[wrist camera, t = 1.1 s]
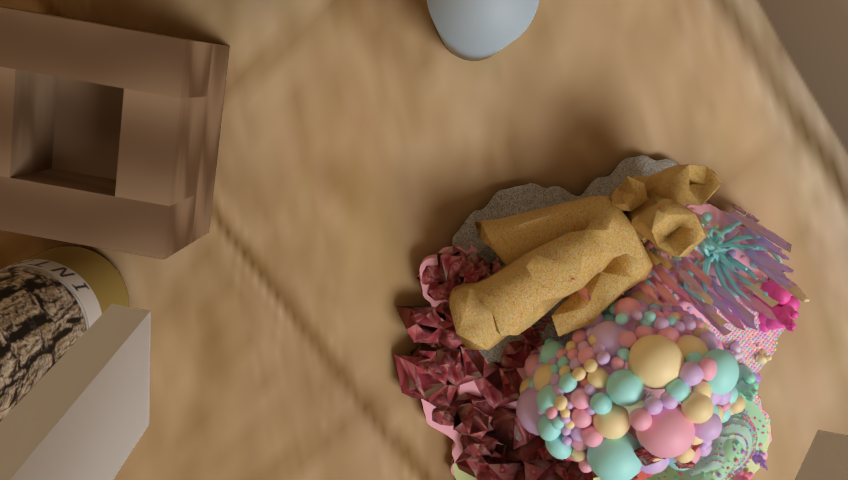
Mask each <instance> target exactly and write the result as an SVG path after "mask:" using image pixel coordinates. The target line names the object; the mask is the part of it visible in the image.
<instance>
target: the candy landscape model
mask: <svg viewBox="0 0 848 480" xmlns="http://www.w3.org/2000/svg"><path fill="white" fill-rule="evenodd" d="M720 184H721V182H720V180H719V179H718V177H717V175H716V174H715V172H714V171H712V170H711V169H710V168H708V167H707V166H697V165H678V164H677V163H675V162H674V161H672V160H670V159H663V160H659V161H657V160H653V159H651V158H649V157H648V156H645V155H641V156H637V157H629V158H625V159H623V160H622V161H621V162H620V163H619V164H618V166H617V167H616V168H615V170H614V171H613V172H612V173H611V174H610V175H609V176H607V177H598V178H596V179H595V180H593V181H592V182H591V184H590V185H589V186H588V187H587V189H586V190H585V192H584V193H583V194H582V195H580V196H575V195H572V194H571V193H569V192H568V191H566V190H565V189H563V188H561V187H559V186H551V187H548V188H543V187H541V186H539V185H537V184H534V183H529V184H526V185H522V186H515V187H512V188H509V189H502V190H499V191H498V192H496V193H495V195H494V196H493V197H492V199H491V200H490V202H489V203H488V205H487V206H486V207H485V208H484V209H481V210H477V211H473V212H472V213H471V214H470V215H469V216H468V218H467V219H466V221H465V222H464V224H463V225H462V227H461V228H460V229H459V230H458V231H457V232H456V234H455V235H454V236H453V239H452V244H453V245H452V246H451V247H444V248H442V249H441V250H440V251H439V252H438V253H437V254H435V255H429V256H426V257H425V258H424V259H423V260H421V263H420V267H419V271H418V276H417V278H418V279H419V280H420V282H421V286H422V289H423V296H424V298H425V299H426V300H428V301H429V302H430V306H396V308H397V310H398V312H399V314H400V316H401V318H402V321H403V323H404V325H405V327H406V329H407V331H408V333H409V335H410V336H411V338H412V340H413V341H414V343H422V344H420V345H419V346H418V347H417V348H416V349H414V350H413V351H412V352H411V356H406V355H394V357H395V362H396V366H397V371H398V376H399V381H400V386H401V390H402V393H404V394H406V395H408V396H411V397H413V398H419V399H421V401H422V403H423V409H424V413H425V415H426V421H427V423H428V424H429V425H430V426H432V427H433V428H435V429H437V430H438V431H440V432H442V433H444V434H446V435H447V436H449V437H450V438H451V439H452V440H453V441H454V443H453V445H452V455H453V458H452V461H451V464H450V465H451V473H452V475H453V476H455V478H456V480H750V478H752V477H753V476H754V474H755V473H756V471H757V470H758V469H759V468H760V466H761V467H763V468H766V470H767V466H766V462H767V461H766V459H767V456H768V453H767V449H768V446H769V444H770V442H771V440H772V436H771V426H770V421H771V420H770V419H769V415H768V414H767V413H766V412H765V410H764V409H763V408H762V406H761V401H760V397H759V396H757V394H758V391H757V389H758V388H759V383H760V381H761V376H760V374H759V373H758V371H759V370H760V369H761V368H762V367H763V365H764V364H765V363H766V362H767V361H770V360H771V359H772V357H771V356H772V354H773V353H774V351H776V348H775V346H776V344H777V343H778V341H775V339H777V337H779V336H780V335H779V334H782V332H783V331H784V329H787V330H788V331H794V329H795V328H796V327H797V326H796V324H795V323H794V321H793V320H792V318H794V319H795V318H797V317H798V316H799V314H798V312H797V309H798V308H799V305H800V303H799V300H798V299H800V300H801V301H803V302H809V300H808V298H807V297H806V296H805V294H804V293H803V292H802V290H801V289H800V288H799V287H797V285H796V284H795V283H794V282H792V281H791V280H790V279H788V278H787V277H786V276H785V274H784V273H783V272H789V273H793V271H794V270H792V269H791V268H789V267H787V266H786V265H784V264H781V263H779V262H782V261H781V259H780V258H779V257H778V256H777V255H779V256H781V257H782V258H783V259H786V260H790V259H789V258H788V257H787V256H786V255H784V254H782V253H781V252H780V251H782V249H781V248H779V247H777V246H775V245H774V244H773V243H775V244H777V245H778V246H780V247H782V248H784V249H785V250H787V251H789V252H790V251H791V244H790V243H788V242H787V241H785V240H784V239H782V238H781V237H779V236H778V235H776V234H775V233H773V232H771V231H769V230H767V229H766V228H765V227H764V226H762V225H760V224H758V223H756V222H758V221H760V220H758V219H757V218H755V217H754V216H753V215H751V214H749V213H748V214H746V213H747V212H746V211H744V210H743V209H741V208H740V207H737V206H736V205H735V206H734V208H735V209H736V210H738V211H740V212H741V213H742V214H744V215H745V214H746V217H743V216H742V215H740V214H738V213H737V212H736V211H735V210H734V211H733V212H732V213H731V214H729V213H727V212H726V211H723V210H722V211H721V210H719V209H718V208H716V207H714V206H713V205H711V204H709V203H708V201H709V198H710V197H711V196H712V195H713V194H714V193H715V192H716V190H717V189H718V187H719V186H720ZM749 218H750V219H749ZM751 219H752V220H751ZM753 220H754V221H753ZM741 224H743V225H744V226H745V227H742V226H739V225H741ZM764 237H765V238H767V239H768V240H770V241H772V242H773V243H771V242H770V241H768V240H767V239H765V238H764ZM762 251H768V252H771V254H772V255H773V256H774V257H775V259H776V260H775V259H773V258H772V257H770V256H769V255H768V254H766V253H764V252H762ZM768 277H769V278H771V279H772V280H773V281H768ZM794 285H795V286H794ZM790 293H791V294H792V295H793V296H791V294H790ZM794 296H795V297H794ZM797 298H798V299H797ZM781 331H782V332H781ZM424 343H426V344H424Z"/></svg>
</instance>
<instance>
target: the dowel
mask: <svg viewBox="0 0 848 480" xmlns="http://www.w3.org/2000/svg"><path fill="white" fill-rule="evenodd" d="M538 4H539V0H427V6H428V9H429V13H430V15H431V18H432V20H433V22H434V24H435V26H436V28H437V31H438V33H439V35H440V37H441V39H442V41H443V43H444V45H445V46H446V47H447V49H448V50H449V51H450V52H451V53H453V54H454V55H455V56H457V57H459V58H461V59H464V60H469V61H479V60H483V59H486V58H489V57H491V56H492V55H494V54H495V53H497V52H498V51H500V50H501V49H503V48H504V47H506V46H507V45H508V44H510V43H511V42H513V41H514V40H516V39H517V38H518V37H519V36H520V35H521V34H522V33H523V32H524V31H525V30H526V29H527V28H528V26H529V25H530V23H531V22H532V20H533V18H534V16H535V13H536V11H537V8H538Z"/></svg>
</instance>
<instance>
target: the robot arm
mask: <svg viewBox="0 0 848 480" xmlns="http://www.w3.org/2000/svg"><path fill="white" fill-rule="evenodd" d="M150 333H151V311H150V310H144V309H138V308H133V307H127V306H122V305H116V304H111V305H110V306H109V307H108V308H107V310H106V311H105V312H104V313H103V314H102V315H101V316H100V317H99V318H98V319H97V320H96V321H95V322H94V323H93V324H92V325H91V326H90V327H89V329H88V330H87V331H86V332H85V333H84V334H83V335H82V336H81V337H80V338H79V339H78V340H77V341H76V342H75V343H74V344H73V345H72V347H71V348H70V349H69V350H68V351H67V352H66V353H65V354H64V355H63V356H62V357H61V358H60V359H59V360H58V361H57V362H56V363H55V364H54V366H53V367H52V368H51V369H50V370H49V371H48V372H47V373H46V374H45V375H44V376H43V377H42V378H41V379H40V380H39V381H38V382H37V384H36V385H35V386H34V387H33V388H32V389H31V390H30V391H29V392H28V393H27V394H26V395H25V396H24V397H23V398H22V399H21V400H20V401H19V403H18V404H17V405H16V406H15V407H14V408H13V409H12V410H11V411H10V412H9V413H8V414H7V415H6V416H5V417H4V418H3V419H2V420H1V422H0V480H113V479H114V478H115V476H116V475H117V473H118V472H119V470H120V469H121V467H122V465H123V464H124V462H125V461H126V459H127V458H128V456H129V455H130V453H131V452H132V450H133V449H134V447H135V446H136V444H137V442H138V441H139V439H140V438H141V436H142V435H143V433H144V432H145V430H146V429H147V427H148V426H149V399H150ZM795 480H848V435H844V434H838V433H833V432H827V431H822V430H818V431H817V433H816V435H815V438H814V440H813V442H812V444H811V446H810V448H809V450H808V453H807V455H806V457H805V459H804V461H803V463H802V465H801V468H800V470H799V472H798V474H797V476H796V478H795Z"/></svg>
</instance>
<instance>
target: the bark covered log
mask: <svg viewBox="0 0 848 480" xmlns="http://www.w3.org/2000/svg"><path fill="white" fill-rule="evenodd" d="M111 304H116V305H122V306H127V307H129V297H128V292H127V288H126V285H125V283H124V281H123V279H122V277H121V275H120V274H119V272H118V271H117V270H116V268H115V267H114V266H113V265H112V264H111V263H110V262H109V261H108V260H106V259H105V258H104V257H102V256H101V255H99V254H97V253H96V252H93V251H91V250H89V249H86V248H82V247H76V246H63V247H57V248H53V249H49V250H47V251H44V252H42V253H40V254H37V255H35V256H32V257H30V258H28V259H25V260H23V261H20V262H17V263H14V264H12V265H10V266H7V267H5V268H2V269H0V422H1V420H2V419H3V418H4V417H5V416H6V415H7V414H8V413H9V412H10V411H11V410H12V409H13V408H14V407H15V406H16V405H17V404H18V403H19V401H20V400H21V399H22V398H23V397H24V396H25V395H26V394H27V393H28V392H29V391H30V390H31V389H32V388H33V387H34V386H35V385H36V384H37V382H38V381H39V380H40V379H41V378H42V377H43V376H44V375H45V374H46V373H47V372H48V371H49V370H50V369H51V368H52V367H53V366H54V364H55V363H56V362H57V361H58V360H59V359H60V358H61V357H62V356H63V355H64V354H65V353H66V352H67V351H68V350H69V349H70V348H71V347H72V345H73V344H74V343H75V342H76V341H77V340H78V339H79V338H80V337H81V336H82V335H83V334H84V333H85V332H86V331H87V330H88V329H89V327H90V326H91V325H92V324H93V323H94V322H95V321H96V320H97V319H98V318H99V317H100V316H101V315H102V314H103V313H104V312H105V311H106V310H107V308H108V307H109V306H110V305H111Z"/></svg>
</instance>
